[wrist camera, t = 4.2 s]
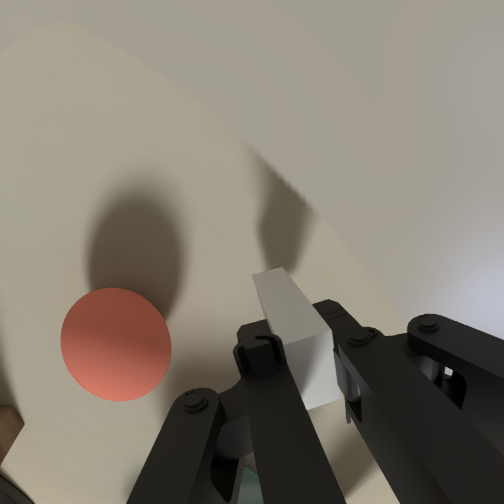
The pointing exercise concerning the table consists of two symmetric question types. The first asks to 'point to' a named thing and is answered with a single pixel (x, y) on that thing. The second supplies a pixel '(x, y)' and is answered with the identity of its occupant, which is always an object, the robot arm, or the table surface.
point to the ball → (115, 344)
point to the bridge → (8, 429)
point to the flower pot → (250, 488)
